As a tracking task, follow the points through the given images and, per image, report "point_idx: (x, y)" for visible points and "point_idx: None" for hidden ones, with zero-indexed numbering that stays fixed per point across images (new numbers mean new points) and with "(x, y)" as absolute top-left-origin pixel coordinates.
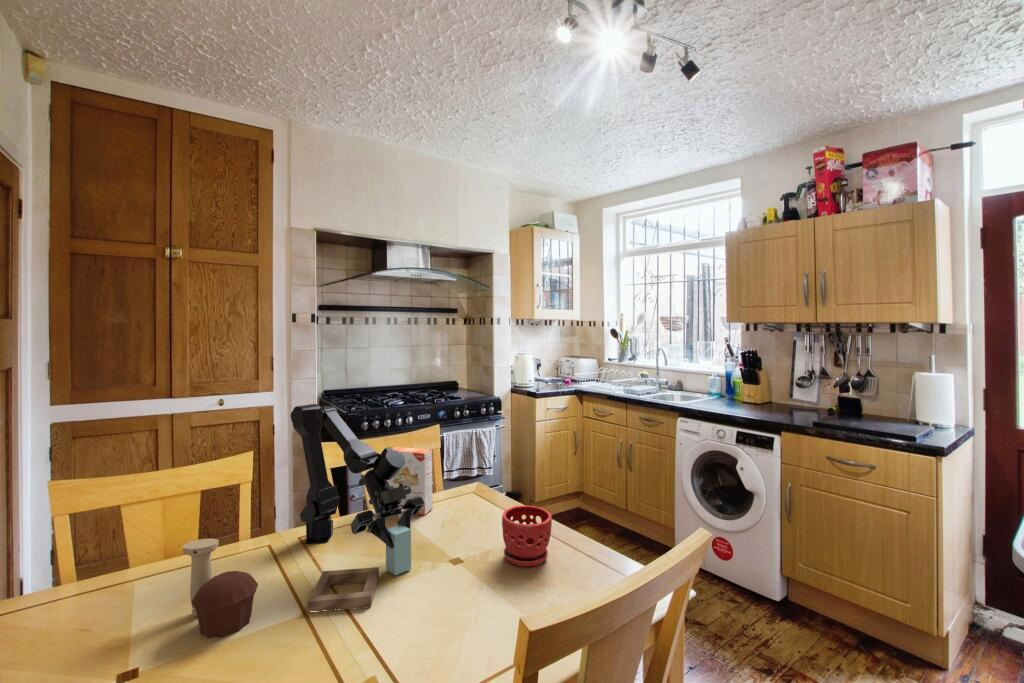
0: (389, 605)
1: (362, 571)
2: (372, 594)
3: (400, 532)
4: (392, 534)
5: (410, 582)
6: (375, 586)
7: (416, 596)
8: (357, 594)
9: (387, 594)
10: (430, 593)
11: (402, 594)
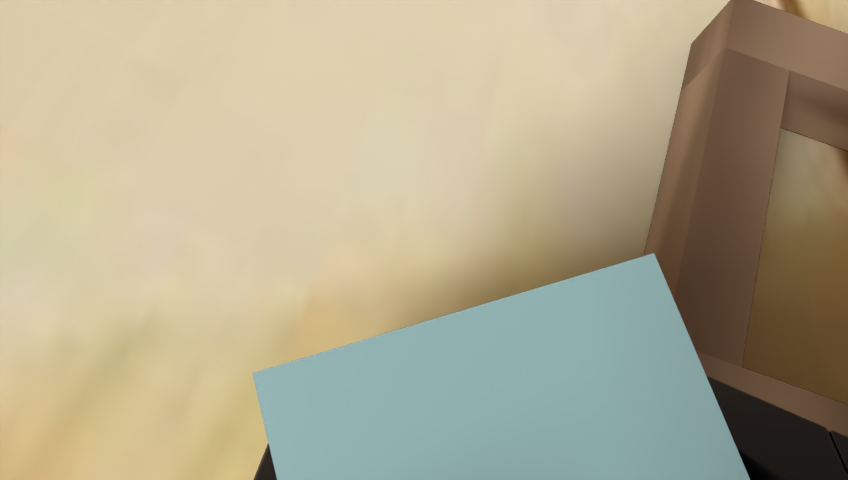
0: (581, 11)
1: (801, 404)
2: (702, 82)
3: (524, 321)
4: (685, 362)
5: (384, 208)
6: (663, 220)
7: (399, 18)
8: (824, 55)
9: (575, 134)
10: (301, 4)
11: (480, 84)
